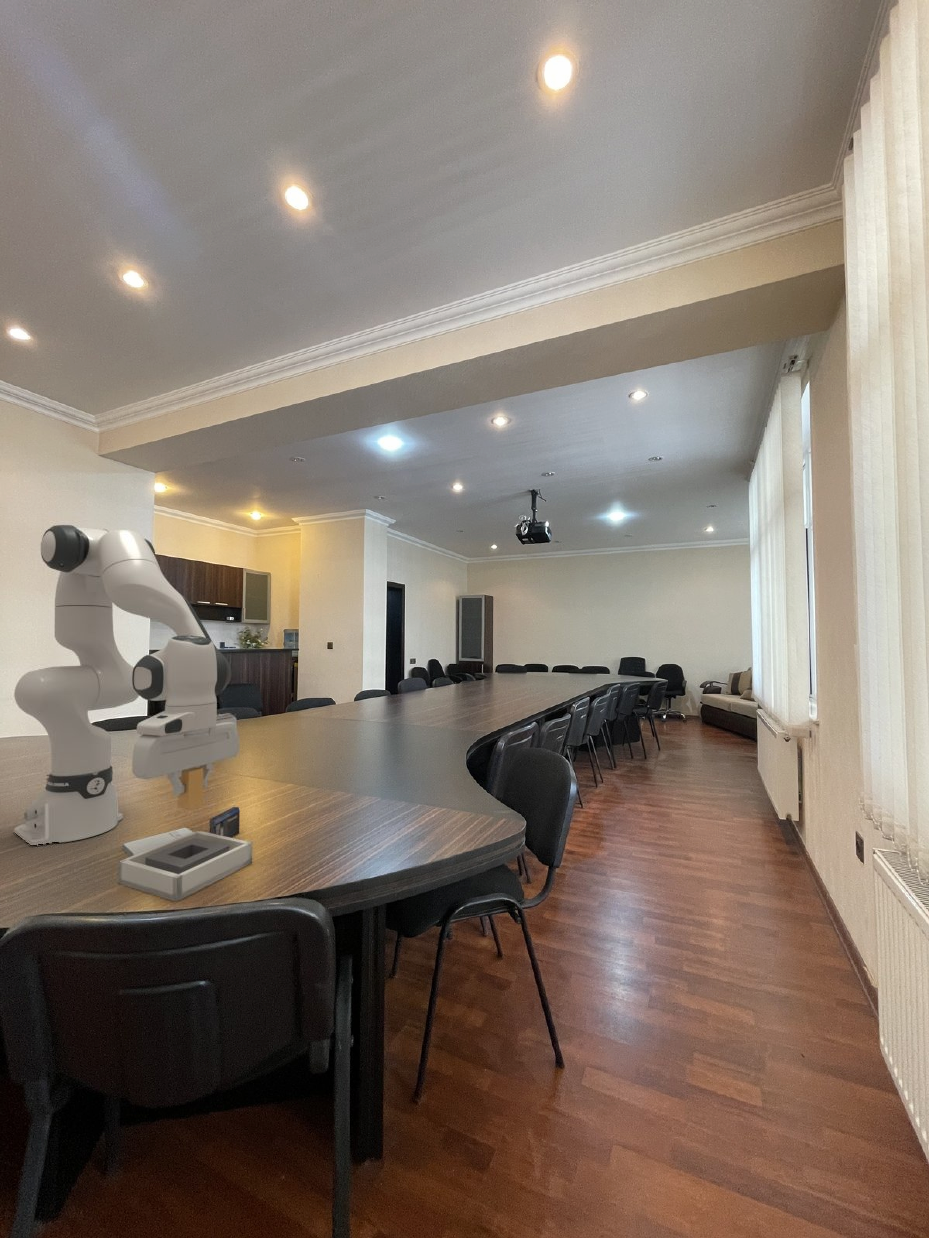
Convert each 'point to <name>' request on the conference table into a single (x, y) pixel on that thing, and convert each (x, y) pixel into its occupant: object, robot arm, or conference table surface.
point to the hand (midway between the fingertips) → (190, 790)
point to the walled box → (184, 864)
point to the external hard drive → (153, 841)
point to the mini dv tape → (226, 823)
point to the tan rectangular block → (191, 788)
